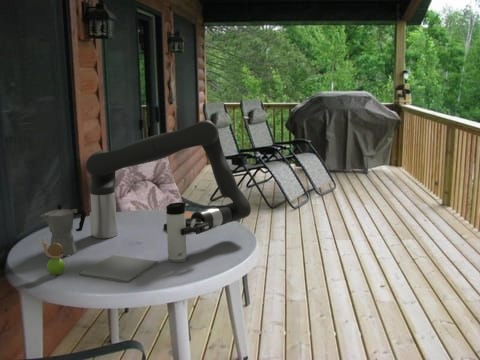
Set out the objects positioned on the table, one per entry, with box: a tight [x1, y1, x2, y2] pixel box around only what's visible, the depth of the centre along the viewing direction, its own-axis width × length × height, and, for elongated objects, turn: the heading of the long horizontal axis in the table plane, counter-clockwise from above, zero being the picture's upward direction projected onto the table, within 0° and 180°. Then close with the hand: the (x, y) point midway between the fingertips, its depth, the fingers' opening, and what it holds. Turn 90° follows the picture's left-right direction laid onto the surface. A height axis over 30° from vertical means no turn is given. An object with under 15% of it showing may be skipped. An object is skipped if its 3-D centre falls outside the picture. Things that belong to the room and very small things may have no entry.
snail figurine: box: [41, 237, 66, 276], centre depth 172 cm, size 5×6×12 cm
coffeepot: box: [39, 203, 87, 257], centre depth 192 cm, size 15×9×18 cm, turn 115°
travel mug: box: [165, 201, 188, 264], centre depth 183 cm, size 6×7×20 cm
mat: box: [79, 254, 159, 283], centre depth 177 cm, size 18×18×1 cm
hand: (172, 229), depth 181 cm, fingers open, 8 cm apart
